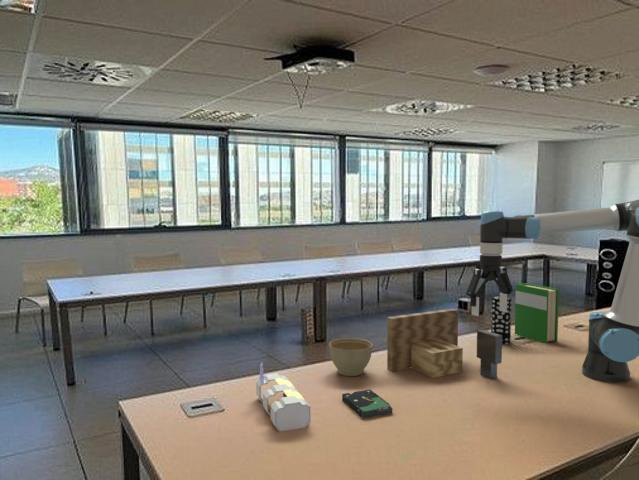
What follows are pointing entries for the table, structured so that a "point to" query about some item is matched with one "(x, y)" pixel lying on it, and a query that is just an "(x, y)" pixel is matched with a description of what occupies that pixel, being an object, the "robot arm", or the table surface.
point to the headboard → (425, 343)
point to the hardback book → (536, 312)
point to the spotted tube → (501, 319)
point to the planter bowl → (350, 355)
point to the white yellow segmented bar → (284, 402)
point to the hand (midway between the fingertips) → (489, 313)
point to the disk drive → (367, 404)
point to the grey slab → (489, 352)
